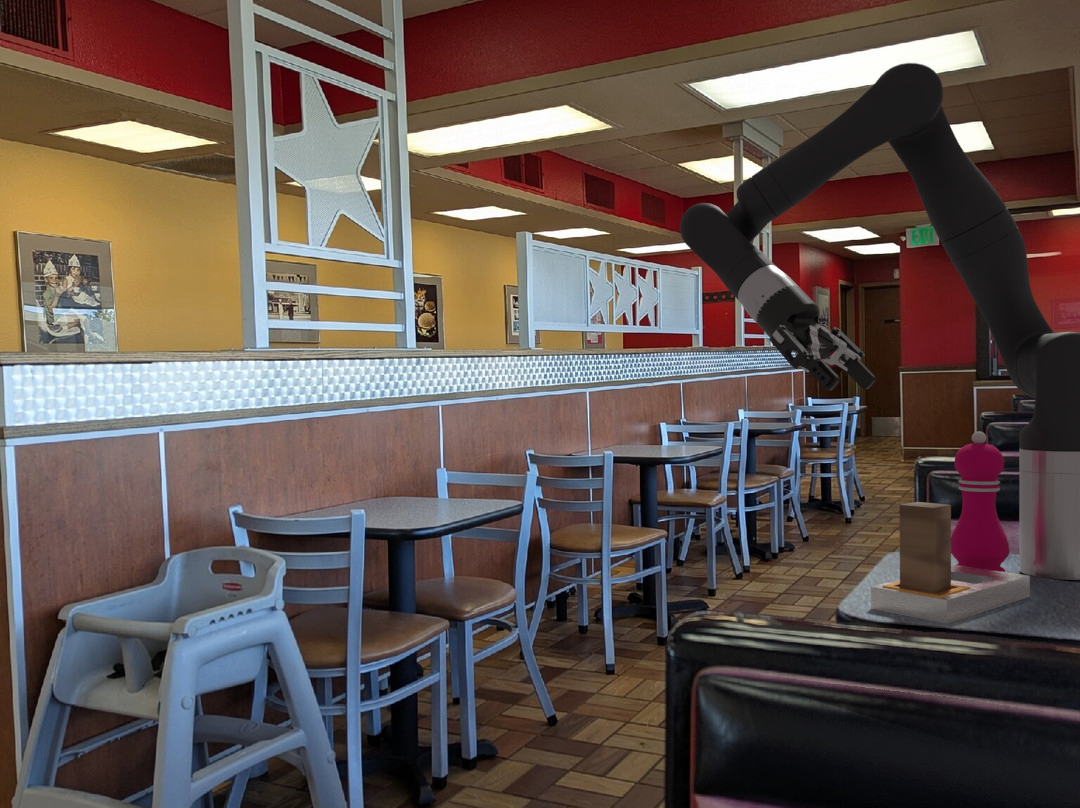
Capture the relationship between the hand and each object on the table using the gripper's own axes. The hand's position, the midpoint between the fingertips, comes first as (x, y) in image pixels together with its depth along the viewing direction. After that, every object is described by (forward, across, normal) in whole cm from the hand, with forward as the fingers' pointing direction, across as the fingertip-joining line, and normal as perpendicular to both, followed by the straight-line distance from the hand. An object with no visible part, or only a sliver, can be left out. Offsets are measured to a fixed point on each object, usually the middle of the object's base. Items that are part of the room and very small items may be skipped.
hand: (853, 385), depth 120 cm
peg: (+28, -8, +9) cm, 30 cm away
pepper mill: (+25, +15, +13) cm, 32 cm away
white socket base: (+28, -2, +9) cm, 30 cm away
